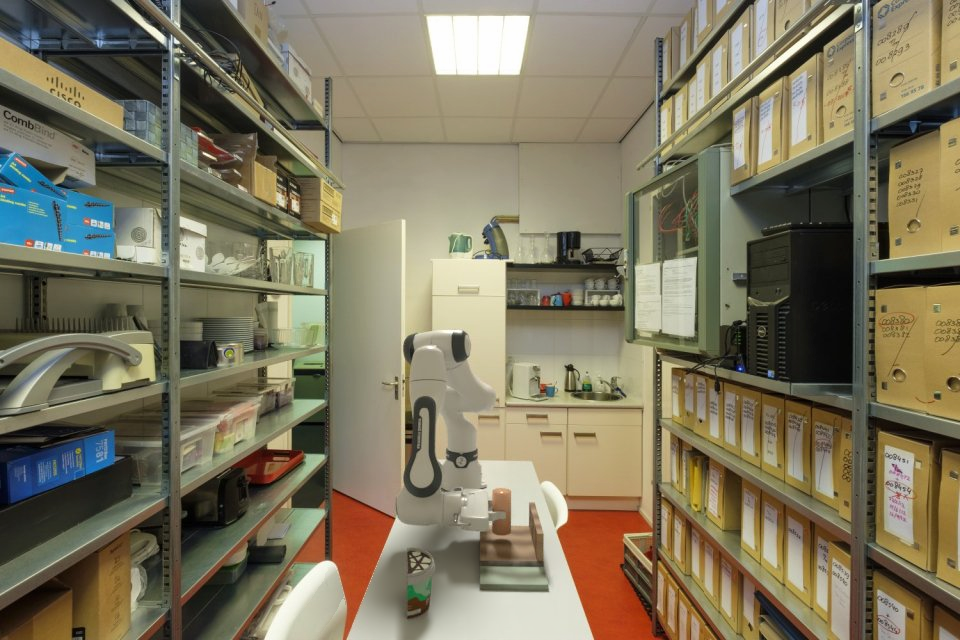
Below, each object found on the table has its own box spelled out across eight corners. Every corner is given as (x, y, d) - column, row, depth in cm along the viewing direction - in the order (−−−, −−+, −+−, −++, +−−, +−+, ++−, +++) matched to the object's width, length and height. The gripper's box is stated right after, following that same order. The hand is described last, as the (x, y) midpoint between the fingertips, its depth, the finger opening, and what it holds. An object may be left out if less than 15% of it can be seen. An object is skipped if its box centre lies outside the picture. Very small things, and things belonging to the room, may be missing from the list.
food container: (436, 620, 98) (437, 573, 98) (407, 623, 97) (407, 575, 97) (433, 587, 110) (433, 544, 110) (406, 589, 109) (406, 546, 109)
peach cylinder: (491, 527, 132) (491, 488, 132) (510, 527, 132) (510, 487, 132) (492, 535, 127) (492, 494, 127) (511, 535, 127) (512, 494, 127)
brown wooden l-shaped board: (480, 532, 139) (480, 501, 139) (534, 532, 139) (534, 502, 139) (479, 589, 110) (480, 550, 110) (548, 589, 110) (548, 551, 110)
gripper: (452, 512, 119) (507, 513, 119) (456, 484, 140) (503, 485, 140) (452, 537, 119) (506, 538, 119) (456, 505, 140) (503, 506, 140)
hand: (505, 509), depth 130 cm, fingers closed on peach cylinder, 5 cm apart
